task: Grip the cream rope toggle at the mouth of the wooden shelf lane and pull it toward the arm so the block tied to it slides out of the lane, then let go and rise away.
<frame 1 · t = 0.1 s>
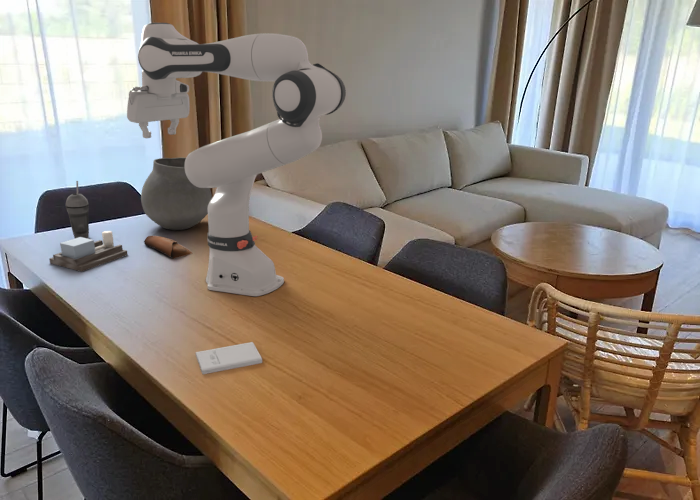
hand: (159, 136, 160), 39 cm above the table, tool pointing down, fingers open, 8 cm apart
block: (90, 245, 175), point 4 cm above the table, slide at 0.0 cm
shelf lane: (89, 259, 175), on the table
sunglasses case: (168, 251, 186), on the table
external hard drive: (228, 362, 120), on the table
ceramic pot: (179, 227, 209), on the table
beverage cup: (81, 238, 195), on the table
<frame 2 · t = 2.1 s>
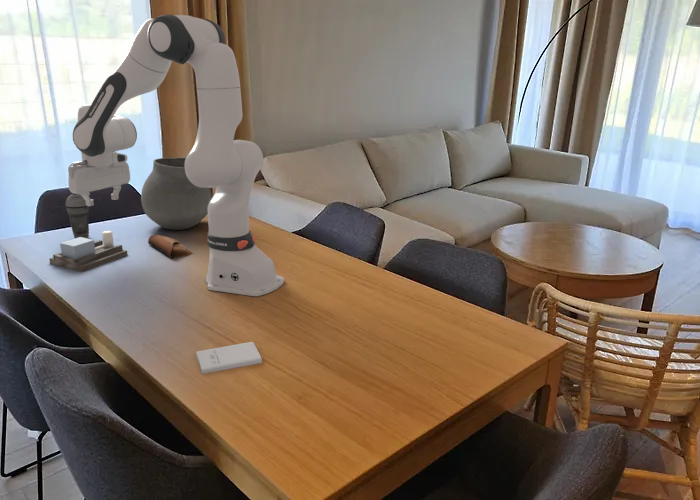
hand: (102, 202, 176), 16 cm above the table, tool pointing down, fingers open, 8 cm apart
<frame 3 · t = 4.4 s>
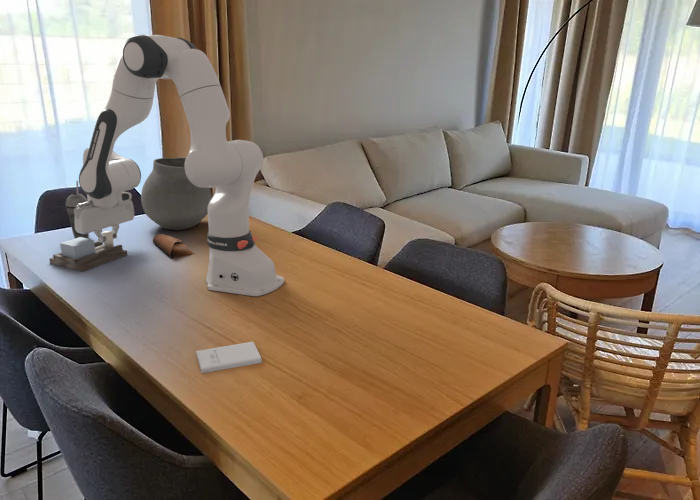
hand: (108, 240, 180), 4 cm above the table, tool pointing down, fingers closed on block, 3 cm apart
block: (90, 245, 175), point 4 cm above the table, slide at 0.0 cm, touching gripper
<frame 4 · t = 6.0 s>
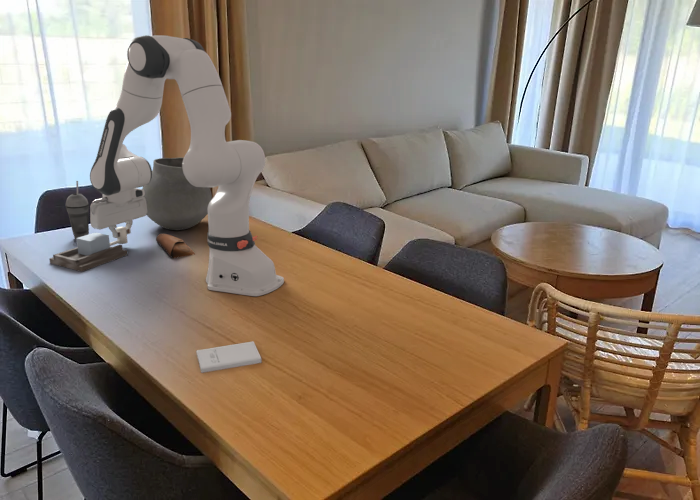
hand: (122, 235, 185), 4 cm above the table, tool pointing down, fingers closed on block, 3 cm apart
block: (105, 240, 179), point 4 cm above the table, slide at 5.6 cm, touching gripper
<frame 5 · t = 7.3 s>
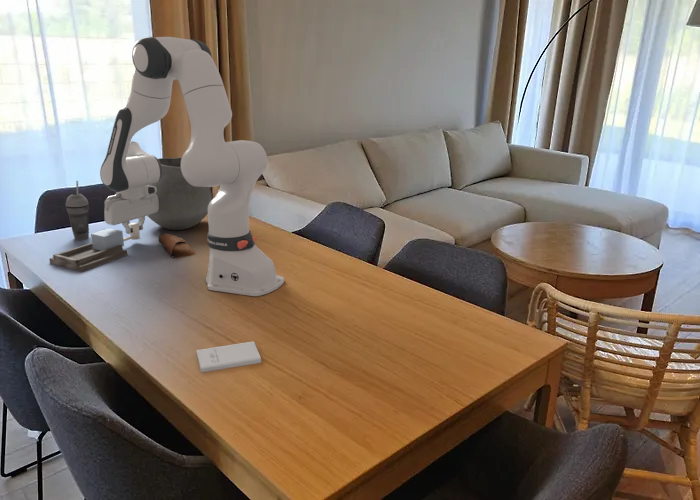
hand: (134, 231, 189), 4 cm above the table, tool pointing down, fingers closed on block, 3 cm apart
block: (119, 236, 184), point 4 cm above the table, slide at 10.9 cm, touching gripper
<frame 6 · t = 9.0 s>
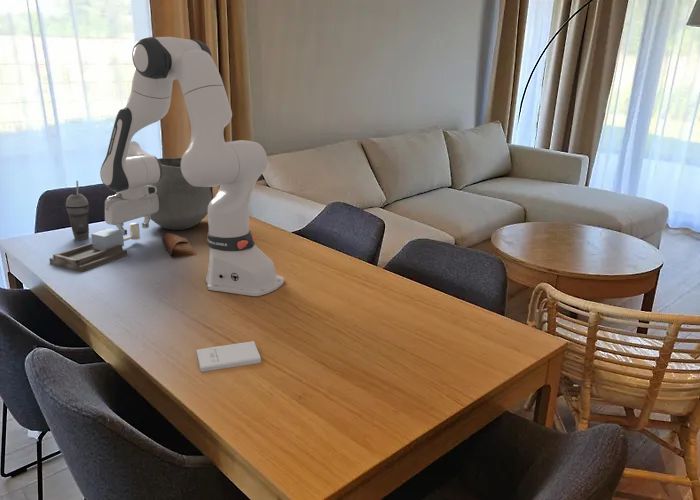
hand: (134, 231, 189), 4 cm above the table, tool pointing down, fingers open, 8 cm apart
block: (119, 236, 184), point 4 cm above the table, slide at 10.9 cm
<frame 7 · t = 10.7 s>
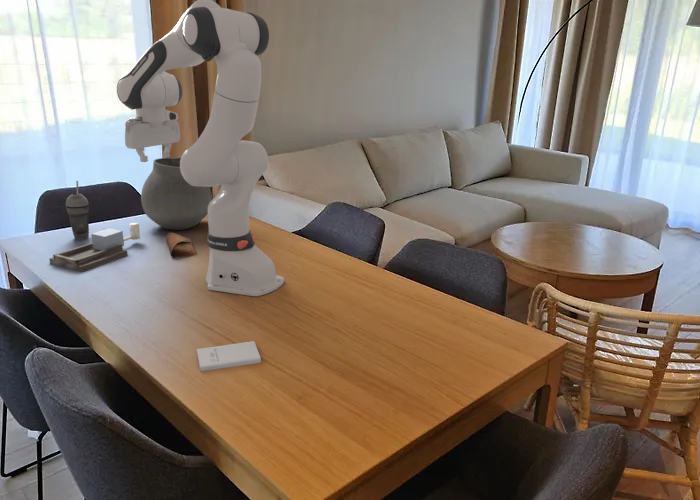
hand: (155, 159, 182), 28 cm above the table, tool pointing down, fingers open, 8 cm apart
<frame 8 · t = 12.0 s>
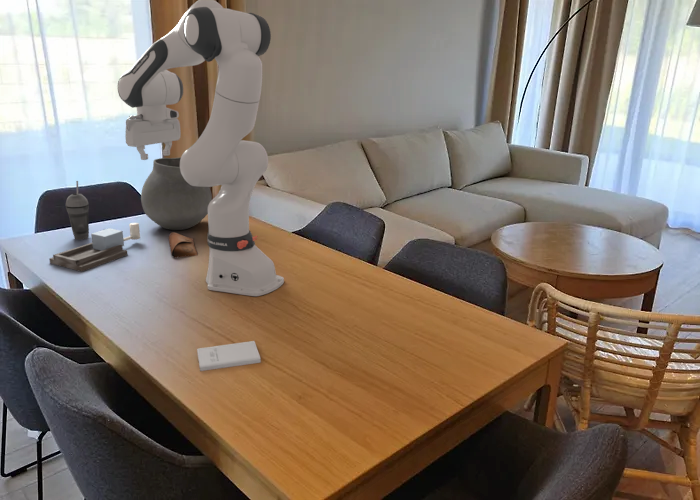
hand: (155, 157, 182), 29 cm above the table, tool pointing down, fingers open, 8 cm apart
at the end: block slide at 10.9 cm; the gripper is holding nothing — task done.
